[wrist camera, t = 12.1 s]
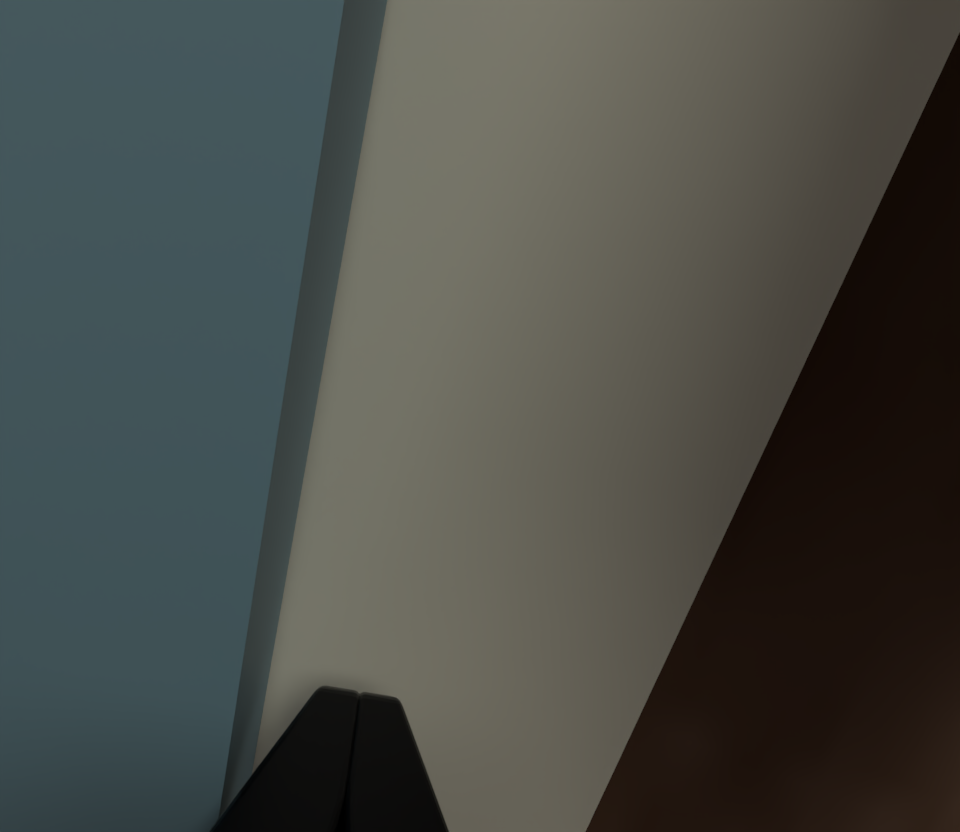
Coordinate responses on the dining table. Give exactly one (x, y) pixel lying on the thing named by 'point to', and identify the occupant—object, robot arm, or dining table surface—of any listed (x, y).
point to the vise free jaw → (159, 382)
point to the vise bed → (571, 356)
